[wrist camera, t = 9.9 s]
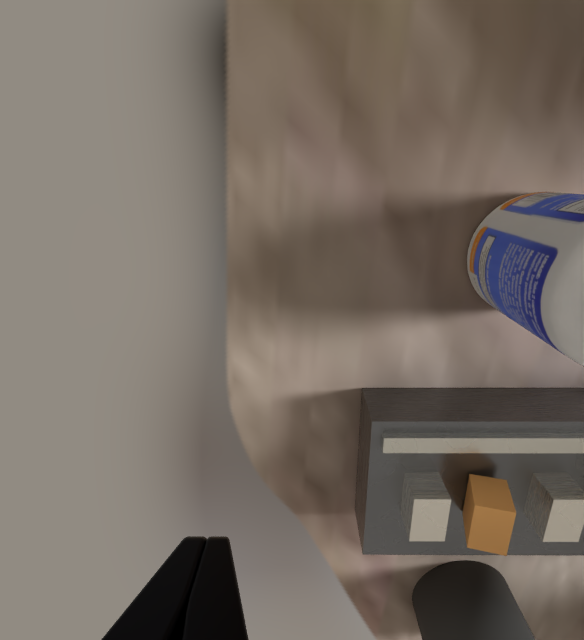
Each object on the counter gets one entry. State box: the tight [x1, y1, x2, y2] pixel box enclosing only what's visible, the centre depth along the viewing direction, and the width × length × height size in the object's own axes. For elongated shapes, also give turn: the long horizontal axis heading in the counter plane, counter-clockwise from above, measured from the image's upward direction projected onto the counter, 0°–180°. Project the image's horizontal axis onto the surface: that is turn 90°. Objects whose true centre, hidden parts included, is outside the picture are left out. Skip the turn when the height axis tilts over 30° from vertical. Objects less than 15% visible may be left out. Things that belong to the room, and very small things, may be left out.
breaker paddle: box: [462, 474, 516, 556], centre depth 19 cm, size 2×2×2 cm
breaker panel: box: [355, 388, 584, 555], centre depth 20 cm, size 14×8×5 cm, turn 90°
